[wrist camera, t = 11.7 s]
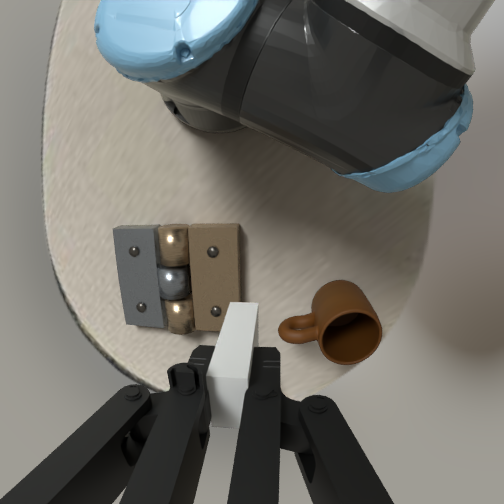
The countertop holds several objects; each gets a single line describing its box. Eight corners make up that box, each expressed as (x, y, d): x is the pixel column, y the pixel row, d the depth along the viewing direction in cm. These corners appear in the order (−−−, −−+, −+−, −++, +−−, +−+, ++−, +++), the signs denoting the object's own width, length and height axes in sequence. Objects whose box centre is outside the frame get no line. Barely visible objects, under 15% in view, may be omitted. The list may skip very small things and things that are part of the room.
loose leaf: (121, 225, 42) (107, 231, 38) (188, 224, 41) (179, 230, 37) (133, 316, 46) (121, 329, 42) (195, 321, 45) (188, 335, 41)
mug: (278, 330, 44) (278, 369, 35) (277, 279, 42) (277, 310, 33) (361, 326, 43) (378, 363, 34) (366, 276, 41) (387, 306, 32)
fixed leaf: (163, 224, 41) (153, 230, 38) (239, 223, 41) (235, 230, 37) (173, 320, 45) (164, 333, 41) (241, 323, 44) (238, 337, 41)
